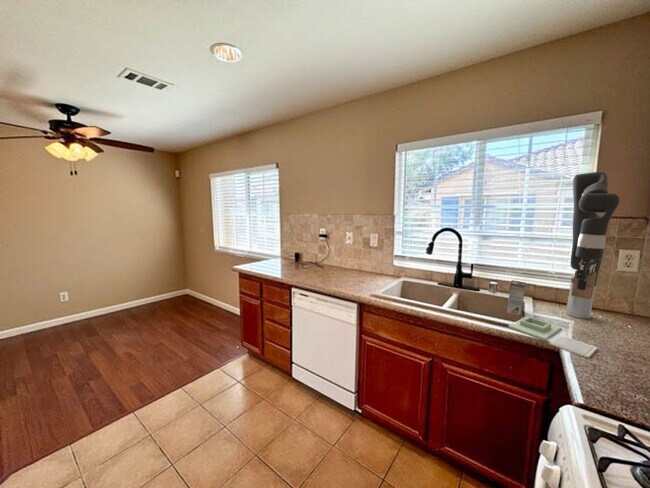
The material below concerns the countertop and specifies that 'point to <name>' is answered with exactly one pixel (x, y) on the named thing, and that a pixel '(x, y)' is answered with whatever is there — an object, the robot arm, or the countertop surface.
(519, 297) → the grey coffee bag
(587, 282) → the walnut block
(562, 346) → the plate
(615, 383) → the countertop surface
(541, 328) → the pocket board
